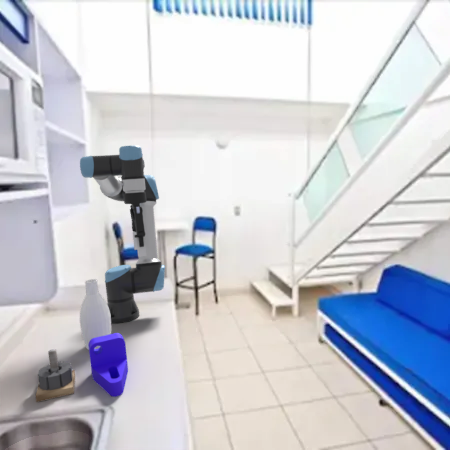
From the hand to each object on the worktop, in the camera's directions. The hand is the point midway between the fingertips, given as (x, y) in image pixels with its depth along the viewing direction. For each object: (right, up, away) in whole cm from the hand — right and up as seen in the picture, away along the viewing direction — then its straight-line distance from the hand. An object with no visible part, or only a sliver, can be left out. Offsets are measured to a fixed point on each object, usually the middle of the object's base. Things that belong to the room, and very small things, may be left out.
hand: (140, 252), depth 131 cm
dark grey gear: (-22, -38, -17) cm, 47 cm away
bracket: (-5, -39, -15) cm, 42 cm away
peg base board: (-22, -40, -17) cm, 48 cm away
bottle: (-19, -36, +12) cm, 42 cm away
